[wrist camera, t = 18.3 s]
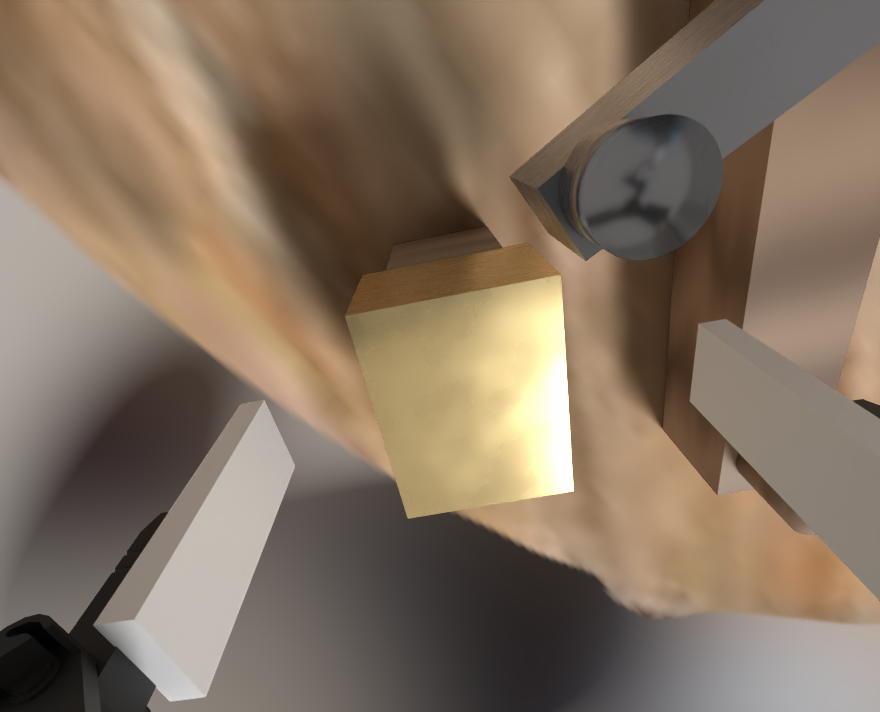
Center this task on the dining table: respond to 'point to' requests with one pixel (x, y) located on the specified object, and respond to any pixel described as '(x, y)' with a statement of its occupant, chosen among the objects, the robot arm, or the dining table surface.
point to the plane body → (781, 257)
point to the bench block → (442, 247)
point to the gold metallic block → (468, 377)
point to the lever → (687, 122)
